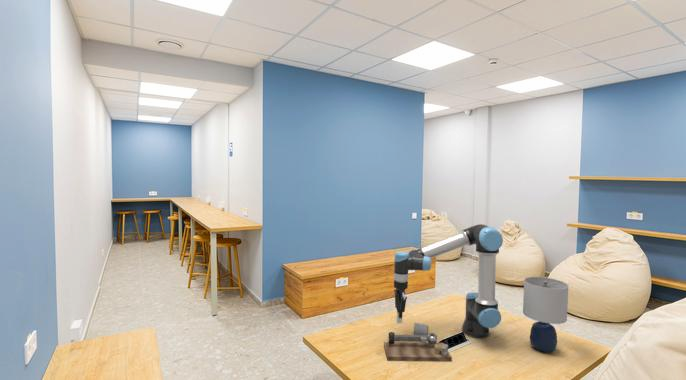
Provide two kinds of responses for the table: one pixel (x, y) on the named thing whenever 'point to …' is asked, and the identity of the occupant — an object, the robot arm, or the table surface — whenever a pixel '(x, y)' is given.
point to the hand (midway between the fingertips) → (399, 322)
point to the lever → (412, 338)
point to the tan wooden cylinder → (438, 348)
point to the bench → (415, 352)
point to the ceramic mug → (420, 329)
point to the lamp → (545, 309)
